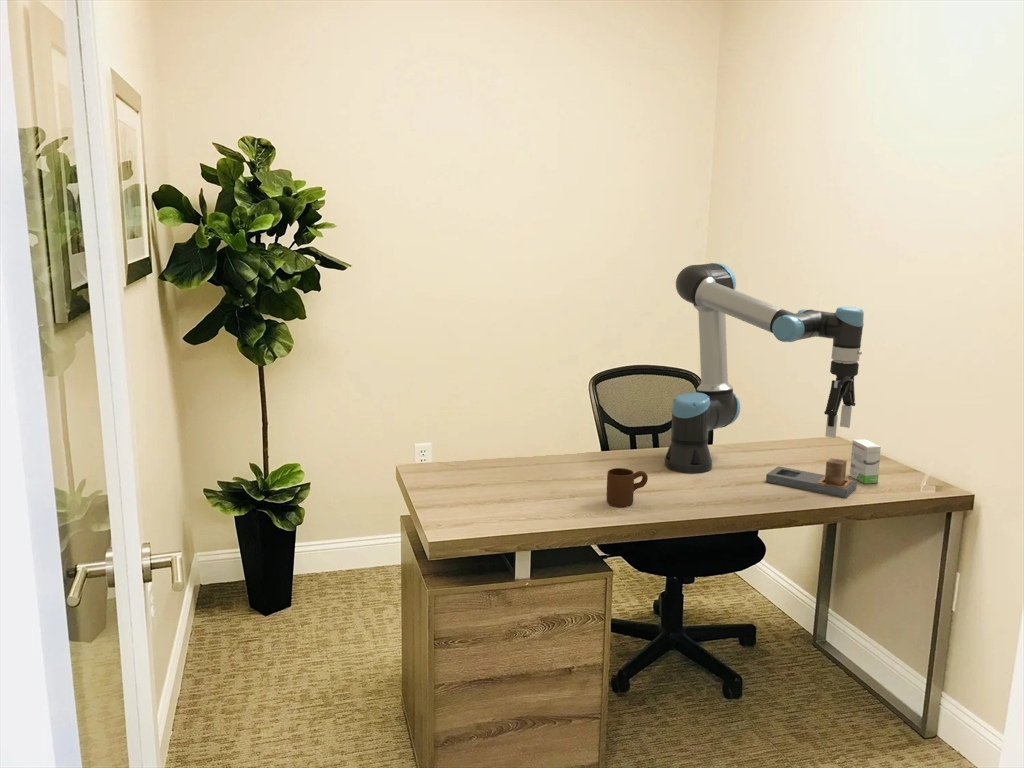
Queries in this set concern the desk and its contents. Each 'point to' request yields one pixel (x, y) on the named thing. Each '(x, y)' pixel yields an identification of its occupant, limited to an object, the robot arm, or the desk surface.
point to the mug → (623, 486)
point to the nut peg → (835, 472)
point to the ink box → (865, 461)
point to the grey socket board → (809, 482)
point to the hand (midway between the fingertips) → (837, 431)
